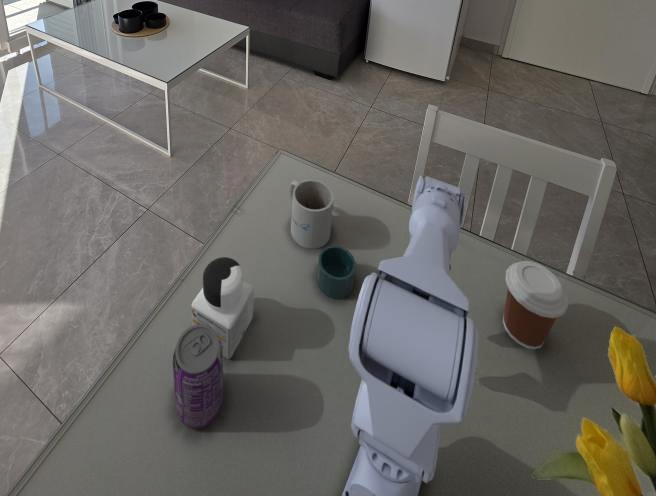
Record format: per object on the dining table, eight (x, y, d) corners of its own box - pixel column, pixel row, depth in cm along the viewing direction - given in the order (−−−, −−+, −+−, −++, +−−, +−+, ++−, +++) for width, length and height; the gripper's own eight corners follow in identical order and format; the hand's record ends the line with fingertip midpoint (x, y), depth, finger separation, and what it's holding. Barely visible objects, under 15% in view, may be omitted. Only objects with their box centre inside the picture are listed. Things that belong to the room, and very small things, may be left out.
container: (191, 336, 73) (189, 280, 69) (217, 296, 79) (216, 243, 75) (229, 361, 69) (229, 304, 65) (253, 317, 76) (254, 263, 72)
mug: (337, 242, 91) (340, 205, 88) (299, 253, 88) (302, 215, 85) (313, 198, 102) (316, 164, 99) (279, 207, 99) (281, 172, 96)
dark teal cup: (343, 307, 78) (345, 287, 77) (310, 284, 82) (311, 265, 80) (359, 277, 84) (361, 258, 82) (327, 257, 87) (329, 239, 86)
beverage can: (201, 362, 69) (199, 310, 65) (232, 397, 65) (232, 344, 61) (165, 404, 64) (161, 350, 60) (197, 445, 60) (195, 390, 56)
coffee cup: (546, 371, 69) (564, 320, 66) (487, 329, 75) (501, 280, 72) (558, 328, 76) (575, 278, 72) (502, 292, 82) (516, 245, 78)
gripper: (445, 309, 55) (429, 378, 59) (468, 231, 66) (454, 294, 71) (391, 278, 59) (381, 345, 63) (423, 209, 70) (412, 270, 74)
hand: (416, 316), depth 67 cm, fingers open, 7 cm apart
